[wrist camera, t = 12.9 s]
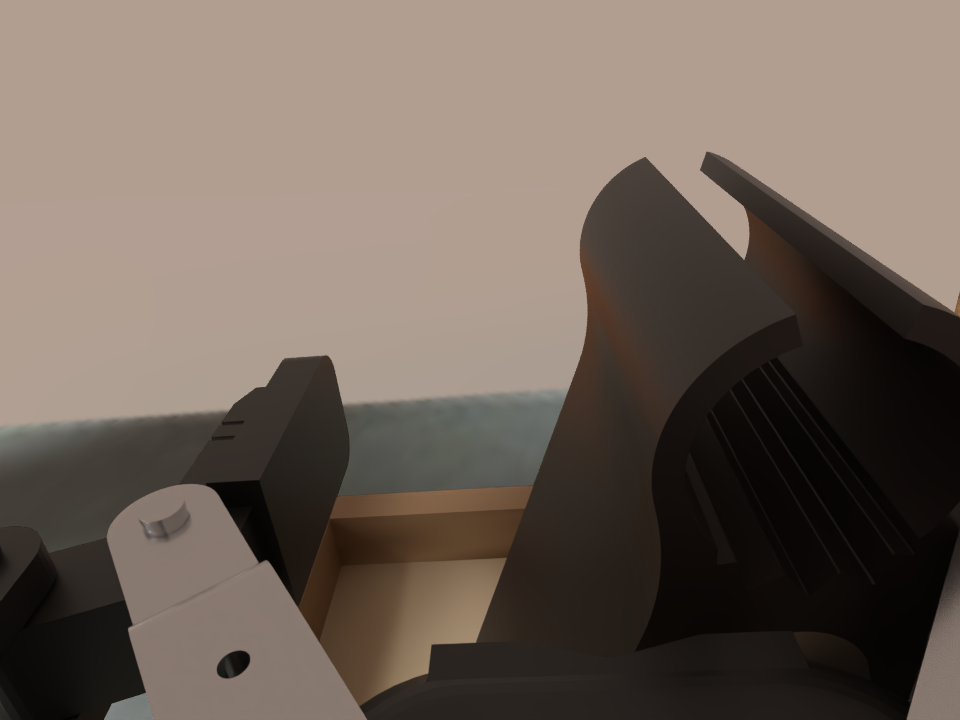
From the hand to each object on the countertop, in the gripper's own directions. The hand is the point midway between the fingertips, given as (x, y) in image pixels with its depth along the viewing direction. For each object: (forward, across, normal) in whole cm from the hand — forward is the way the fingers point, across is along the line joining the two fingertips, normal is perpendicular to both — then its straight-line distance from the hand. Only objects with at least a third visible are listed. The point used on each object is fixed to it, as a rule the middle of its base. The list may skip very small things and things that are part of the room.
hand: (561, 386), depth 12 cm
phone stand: (-2, -2, +8) cm, 9 cm away
